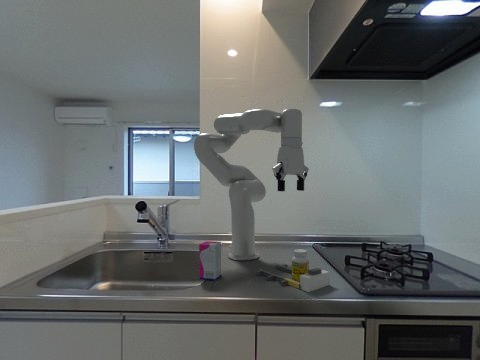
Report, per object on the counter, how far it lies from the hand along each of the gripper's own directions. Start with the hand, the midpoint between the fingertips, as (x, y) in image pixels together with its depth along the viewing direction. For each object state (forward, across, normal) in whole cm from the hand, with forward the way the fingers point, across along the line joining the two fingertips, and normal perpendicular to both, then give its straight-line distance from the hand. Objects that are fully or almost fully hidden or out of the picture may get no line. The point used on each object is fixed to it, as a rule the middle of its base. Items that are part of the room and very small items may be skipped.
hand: (291, 190), depth 111 cm
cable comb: (+28, +9, +10) cm, 31 cm away
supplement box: (+28, +30, -7) cm, 42 cm away
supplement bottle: (+28, +9, +14) cm, 32 cm away
